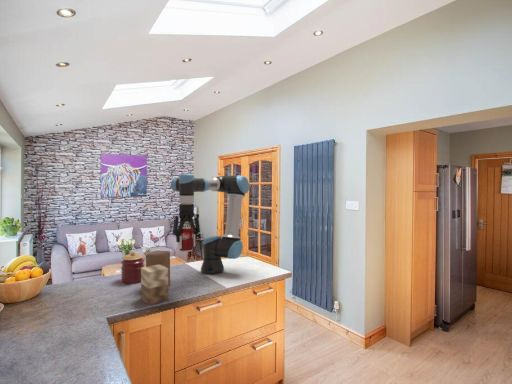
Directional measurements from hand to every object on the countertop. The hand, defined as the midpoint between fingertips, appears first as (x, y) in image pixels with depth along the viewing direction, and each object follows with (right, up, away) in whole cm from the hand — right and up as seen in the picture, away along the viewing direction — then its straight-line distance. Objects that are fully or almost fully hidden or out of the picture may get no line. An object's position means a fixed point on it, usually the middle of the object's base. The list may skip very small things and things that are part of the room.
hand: (186, 247), depth 158 cm
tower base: (-15, -26, -5) cm, 30 cm away
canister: (-38, -25, +23) cm, 51 cm away
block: (-19, -25, +12) cm, 33 cm away
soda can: (0, -2, 0) cm, 2 cm away
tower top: (-15, -18, -5) cm, 24 cm away
